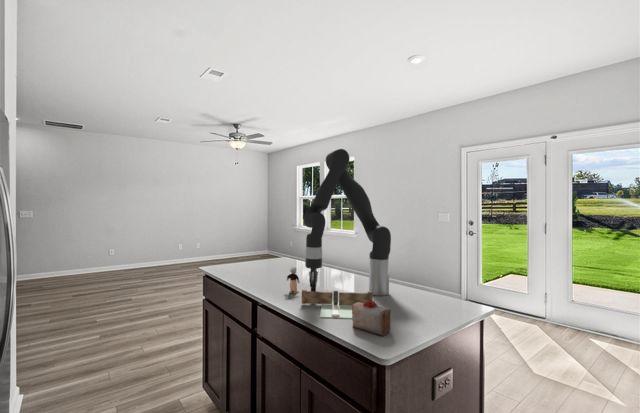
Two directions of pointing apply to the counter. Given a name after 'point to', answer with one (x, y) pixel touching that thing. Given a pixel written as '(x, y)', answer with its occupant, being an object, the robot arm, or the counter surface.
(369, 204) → the robot arm
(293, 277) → the grandmother figurine
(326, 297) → the hinged fence panel
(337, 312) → the card
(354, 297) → the fixed fence section
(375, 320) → the food item
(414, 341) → the counter surface
